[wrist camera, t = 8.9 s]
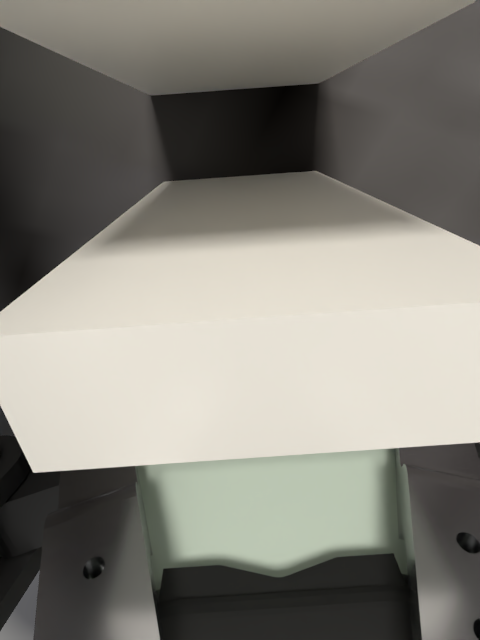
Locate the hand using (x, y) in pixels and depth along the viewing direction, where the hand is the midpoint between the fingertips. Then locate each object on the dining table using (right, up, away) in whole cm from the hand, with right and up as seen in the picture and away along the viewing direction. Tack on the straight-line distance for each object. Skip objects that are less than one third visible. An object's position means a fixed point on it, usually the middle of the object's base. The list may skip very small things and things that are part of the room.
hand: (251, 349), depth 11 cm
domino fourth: (0, +5, +1) cm, 5 cm away
